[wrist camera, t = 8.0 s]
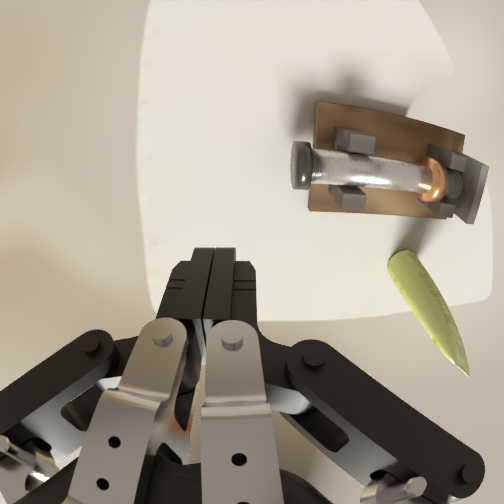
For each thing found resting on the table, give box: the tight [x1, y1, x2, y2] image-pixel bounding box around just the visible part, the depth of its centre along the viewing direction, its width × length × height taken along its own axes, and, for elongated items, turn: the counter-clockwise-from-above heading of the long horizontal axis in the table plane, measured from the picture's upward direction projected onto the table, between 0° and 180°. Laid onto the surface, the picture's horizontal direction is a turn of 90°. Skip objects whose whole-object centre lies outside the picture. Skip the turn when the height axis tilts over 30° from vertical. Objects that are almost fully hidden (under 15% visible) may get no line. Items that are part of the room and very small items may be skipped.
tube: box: [387, 250, 471, 378], centre depth 27 cm, size 6×5×20 cm
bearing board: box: [308, 102, 489, 224], centre depth 24 cm, size 12×20×7 cm, turn 89°
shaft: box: [291, 141, 463, 202], centre depth 24 cm, size 5×19×5 cm, turn 89°
